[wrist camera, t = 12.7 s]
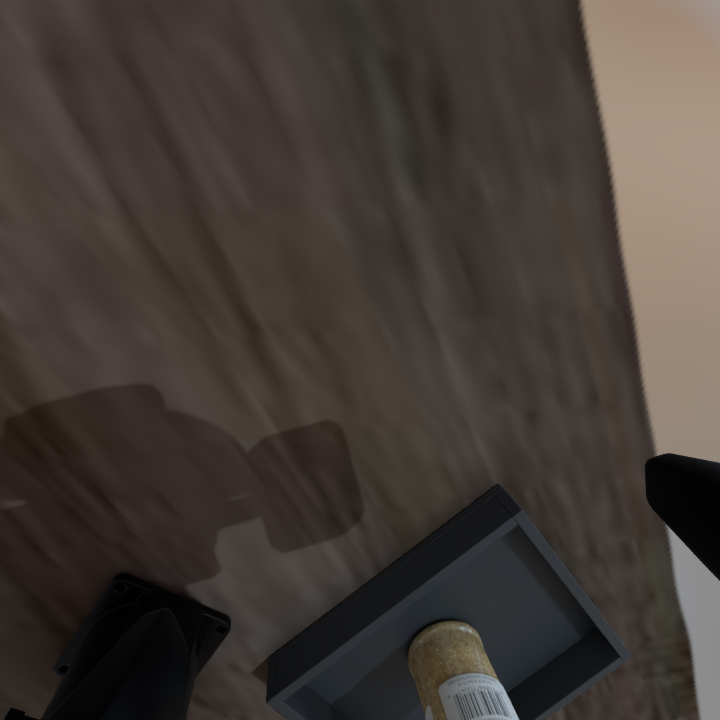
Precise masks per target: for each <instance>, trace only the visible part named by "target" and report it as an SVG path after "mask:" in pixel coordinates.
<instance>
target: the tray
mask: <svg viewBox="0 0 720 720" xmlns="http://www.w3.org/2000/svg"><path fill="white" fill-rule="evenodd" d="M454 620H455V621H462V622H465V623H467V624H469V625H470V626H471V627H473V628H474V629H475V630H476V631H477V632H478V634H479V636H480V638H481V641H482V644H483V649H484V651H485V653H486V655H487V657H488V659H489V661H490V664H491V666H492V667H493V670H494V672H495V674H496V676H497V678H498V680H499V682H500V683H501V685H502V686H503V687H504V689H505V691H506V693H507V695H508V697H509V699H510V701H511V704H512V706H513V708H514V710H515V712H516V714H517V716H518V718H519V720H546V719H547V718H549V717H550V716H552V715H553V714H554V713H556V712H557V711H558V710H560V709H561V708H563V707H564V706H565V705H567V704H568V703H569V702H571V701H572V700H573V699H575V698H576V697H578V696H579V695H580V694H582V693H583V692H584V691H586V690H587V689H589V688H590V687H591V686H593V685H594V684H595V683H597V682H598V681H600V680H601V679H602V678H604V677H605V676H606V675H608V674H609V673H611V672H612V671H613V670H615V669H616V668H617V667H619V666H620V665H622V664H623V663H624V662H626V661H627V660H628V659H630V658H631V657H632V654H631V653H630V652H629V650H628V649H627V648H626V646H625V645H624V644H623V643H622V641H621V640H620V639H619V637H618V636H617V635H616V633H615V632H614V631H613V629H612V628H611V627H610V625H609V624H608V623H607V621H606V620H605V619H604V617H603V616H602V615H601V613H600V612H599V611H598V609H597V608H596V607H595V605H594V604H593V603H592V601H591V600H590V599H589V598H588V596H587V595H586V594H585V592H584V591H583V590H582V588H581V587H580V586H579V584H578V583H577V582H576V580H575V579H574V578H573V576H572V575H571V574H570V572H569V571H568V570H567V568H566V567H565V566H564V564H563V563H562V562H561V560H560V559H559V558H558V557H557V555H556V554H555V553H554V551H553V550H552V549H551V547H550V546H549V545H548V543H547V542H546V541H545V539H544V538H543V537H542V535H541V534H540V533H539V531H538V530H537V529H536V527H535V526H534V525H533V523H532V522H531V521H530V519H529V518H528V517H527V515H526V514H525V513H524V512H523V510H522V509H521V508H520V507H519V506H518V504H517V503H516V502H515V501H514V500H513V499H512V498H511V497H510V495H509V494H508V493H507V492H506V491H505V490H504V489H503V487H502V486H501V485H500V484H498V485H496V486H495V487H494V488H492V489H491V490H490V491H488V492H487V493H486V494H484V495H483V496H482V497H481V498H479V499H478V500H477V501H475V502H474V503H473V504H471V505H470V506H469V507H467V508H466V509H465V510H463V511H462V512H461V513H459V514H458V515H457V516H455V517H454V518H453V519H451V520H450V521H449V522H447V523H446V524H445V525H444V526H442V527H441V528H440V529H438V530H437V531H436V532H434V533H433V534H432V535H430V536H429V537H428V538H426V539H425V540H424V541H422V542H421V543H420V544H418V545H417V546H416V547H414V548H413V549H412V550H411V551H409V552H408V553H407V554H405V555H404V556H403V557H401V558H400V559H399V560H397V561H396V562H395V563H393V564H392V565H391V566H389V567H388V568H387V569H385V570H384V571H383V572H381V573H380V574H379V575H378V576H376V577H375V578H374V579H372V580H371V581H370V582H368V583H367V584H366V585H364V586H363V587H362V588H360V589H359V590H358V591H356V592H355V593H354V594H352V595H351V596H350V597H348V598H347V599H346V600H344V601H343V602H342V603H341V604H339V605H338V606H337V607H335V608H334V609H333V610H331V611H330V612H329V613H327V614H326V615H325V616H323V617H322V618H321V619H319V620H318V621H317V622H315V623H314V624H313V625H311V626H310V627H309V628H308V629H306V630H305V631H304V632H302V633H301V634H300V635H298V636H297V637H296V638H294V639H293V640H292V641H290V642H289V643H288V644H286V645H285V646H284V647H282V648H281V649H280V650H278V651H277V652H276V653H275V654H273V655H272V656H271V657H269V663H268V665H269V667H268V680H267V696H266V703H267V704H268V705H270V706H271V707H272V708H273V709H275V710H276V711H277V712H279V713H280V714H281V715H282V716H284V717H285V718H286V719H288V720H425V714H424V711H423V707H422V703H421V700H420V696H419V693H418V689H417V686H416V683H415V680H414V677H413V676H412V674H411V672H410V670H409V666H408V653H409V648H410V646H411V644H412V642H413V640H414V638H415V637H416V636H417V635H418V634H420V633H421V632H422V631H423V630H424V629H425V628H427V627H428V626H431V625H433V624H435V623H439V622H443V621H454Z"/></svg>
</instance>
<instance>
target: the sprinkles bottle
mask: <svg viewBox="0 0 720 720" xmlns="http://www.w3.org/2000/svg"><path fill="white" fill-rule="evenodd" d="M408 666H409V670H410V672H411V674H412V676H413V677H414V680H415V683H416V686H417V689H418V693H419V696H420V700H421V703H422V707H423V711H424V714H425V720H519V718H518V716H517V714H516V712H515V710H514V708H513V706H512V704H511V701H510V699H509V697H508V695H507V693H506V691H505V689H504V687H503V686H502V685H501V683H500V682H499V680H498V678H497V676H496V674H495V672H494V670H493V667H492V666H491V664H490V661H489V659H488V657H487V655H486V653H485V651H484V649H483V644H482V641H481V638H480V636H479V634H478V632H477V631H476V630H475V629H474V628H473V627H471V626H470V625H469V624H467V623H465V622H462V621H455V620H454V621H443V622H439V623H435V624H433V625H431V626H428V627H427V628H425V629H424V630H423V631H422V632H421V633H420V634H418V635H417V636H416V637H415V638H414V640H413V642H412V644H411V646H410V648H409V653H408Z"/></svg>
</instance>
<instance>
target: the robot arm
mask: <svg viewBox="0 0 720 720" xmlns="http://www.w3.org/2000/svg"><path fill="white" fill-rule="evenodd" d="M645 481H646V497H647V500H648V502H649V504H650V506H651V508H652V509H653V510H654V511H655V512H656V513H657V515H658V516H659V517H660V518H661V519H662V520H663V521H664V522H665V523H666V524H667V525H668V526H669V527H670V529H671V530H672V531H673V532H674V533H675V534H676V535H677V536H678V537H679V538H680V539H681V540H682V541H683V542H684V543H685V545H686V546H687V547H688V548H689V549H690V550H691V551H692V552H693V553H694V554H695V555H696V556H697V558H698V559H699V560H700V561H701V562H702V563H703V564H704V565H705V566H706V567H707V568H708V569H709V570H710V571H711V572H712V573H713V574H714V575H715V576H716V577H717V578H718V579H719V581H720V463H718V462H713V461H707V460H703V459H697V458H692V457H686V456H682V455H677V454H671V453H667V454H663V455H659V456H656V457H653V458H650V459H648V460H647V461H646V464H645ZM118 584H123V585H124V586H120V585H118ZM219 626H224V627H219ZM230 627H231V620H230V618H229V617H227V616H225V615H223V614H220V613H218V612H216V611H213V610H211V609H208V608H206V607H204V606H201V605H199V604H197V603H194V602H192V601H190V600H187V599H185V598H182V597H180V596H178V595H175V594H173V593H171V592H168V591H166V590H164V589H161V588H159V587H156V586H154V585H152V584H149V583H147V582H145V581H142V580H140V579H137V578H135V577H133V576H130V575H128V574H119V575H116V576H115V577H114V578H113V580H112V581H111V583H110V584H109V586H108V587H107V589H106V590H105V591H104V593H103V594H102V596H101V597H100V599H99V600H98V602H97V603H96V605H95V606H94V608H93V609H92V611H91V612H90V613H89V615H88V616H87V618H86V619H85V621H84V622H83V624H82V625H81V627H80V628H79V630H78V631H77V633H76V634H75V636H74V637H73V638H72V640H71V641H70V643H69V644H68V646H67V647H66V649H65V650H64V652H63V653H62V655H61V656H60V658H59V659H58V661H57V663H56V664H55V666H54V669H53V670H54V673H55V674H56V675H58V676H59V677H62V678H63V679H62V681H61V683H60V685H59V686H58V688H57V690H56V692H55V694H54V696H53V698H52V699H51V701H50V703H49V705H48V707H47V709H46V710H45V712H44V714H43V716H42V718H41V720H186V716H187V711H188V707H189V703H190V698H191V694H192V690H193V686H194V681H195V678H196V677H197V675H198V674H199V672H200V671H201V670H202V668H203V667H204V666H205V664H206V663H207V662H208V660H209V659H210V658H211V656H212V655H213V654H214V652H215V651H216V650H217V648H218V647H219V645H220V644H221V643H222V641H223V640H224V639H225V637H226V636H227V635H228V633H229V631H230ZM24 714H25V712H24V711H21V710H17V709H14V708H10V710H9V711H8V713H7V714H6V716H5V717H4V719H3V720H38V719H35V718H32V717H29V716H25V715H24Z"/></svg>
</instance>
